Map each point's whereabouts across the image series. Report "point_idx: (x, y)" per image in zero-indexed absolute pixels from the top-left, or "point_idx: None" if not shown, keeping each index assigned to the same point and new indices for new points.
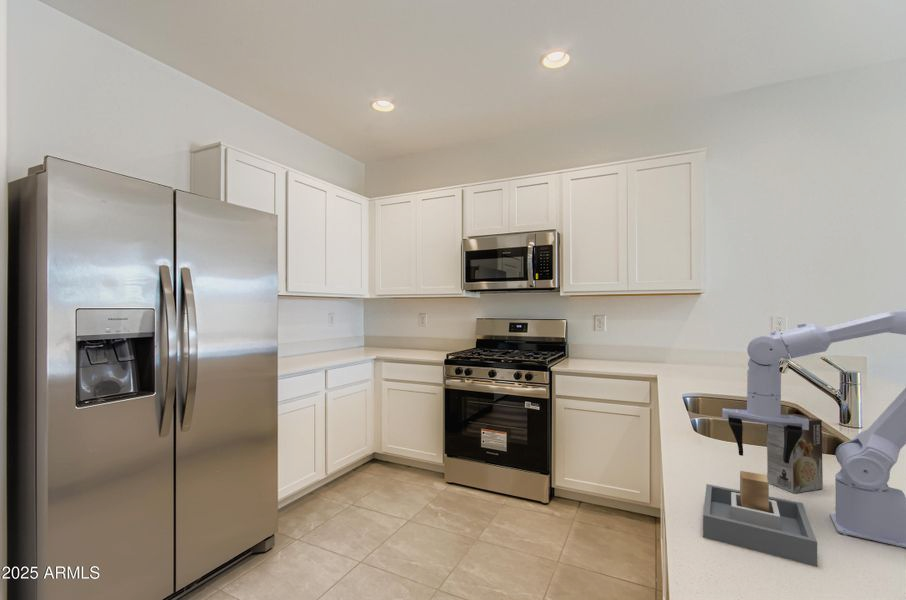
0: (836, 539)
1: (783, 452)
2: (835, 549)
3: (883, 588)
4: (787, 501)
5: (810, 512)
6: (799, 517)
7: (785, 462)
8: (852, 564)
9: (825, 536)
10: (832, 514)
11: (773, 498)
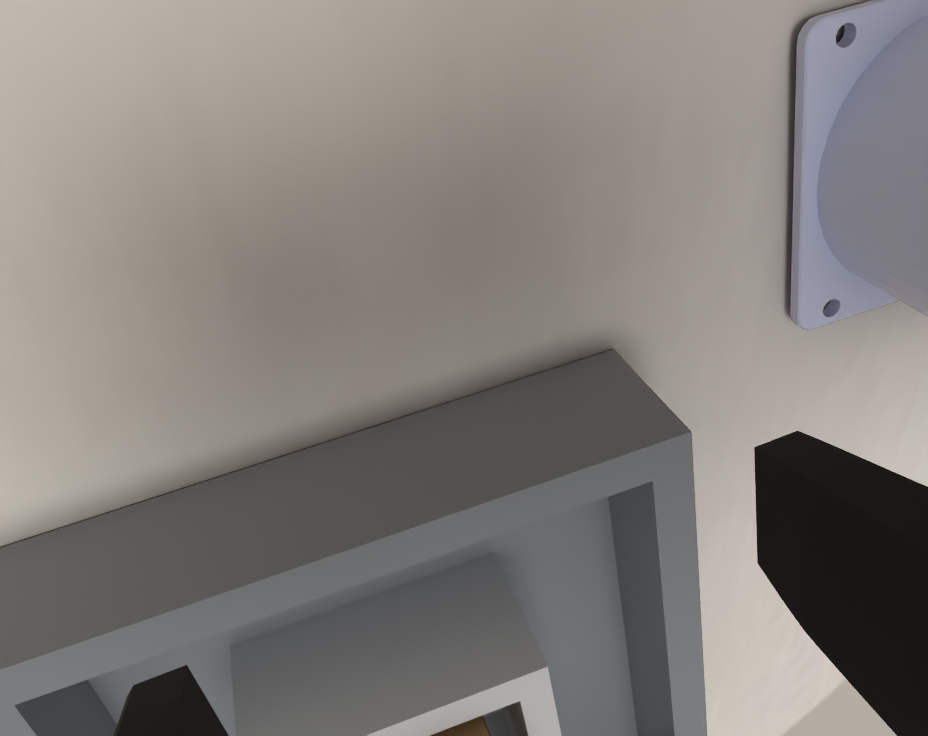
0: (762, 408)
1: (838, 512)
2: (738, 526)
3: (832, 675)
4: (596, 493)
5: (671, 63)
6: (645, 578)
7: (771, 566)
8: (777, 600)
9: (716, 418)
10: (822, 45)
11: (502, 521)
